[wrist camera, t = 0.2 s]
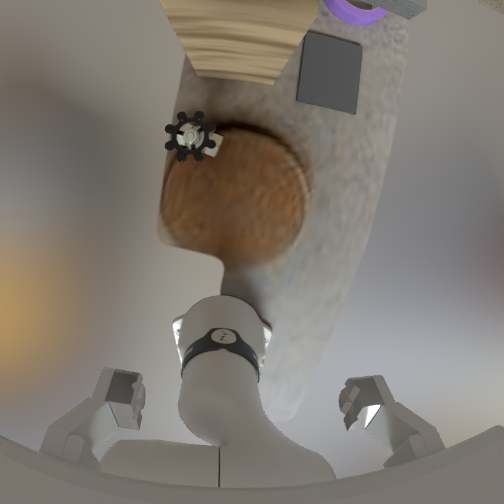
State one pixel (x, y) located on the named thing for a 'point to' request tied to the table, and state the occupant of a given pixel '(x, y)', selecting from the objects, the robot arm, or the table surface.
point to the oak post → (240, 35)
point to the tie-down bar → (401, 6)
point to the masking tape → (355, 12)
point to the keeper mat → (330, 73)
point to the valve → (193, 137)
